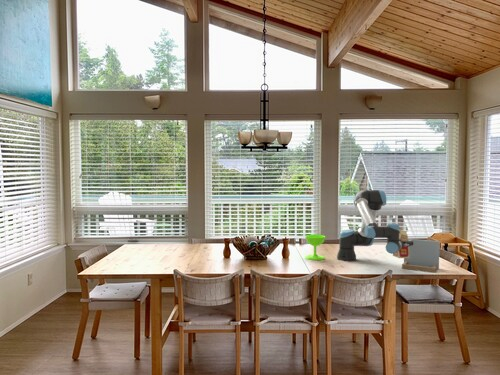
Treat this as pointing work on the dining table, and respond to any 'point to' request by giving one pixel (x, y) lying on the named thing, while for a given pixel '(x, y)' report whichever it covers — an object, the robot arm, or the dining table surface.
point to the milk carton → (405, 250)
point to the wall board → (423, 256)
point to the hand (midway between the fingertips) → (403, 240)
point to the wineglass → (315, 241)
